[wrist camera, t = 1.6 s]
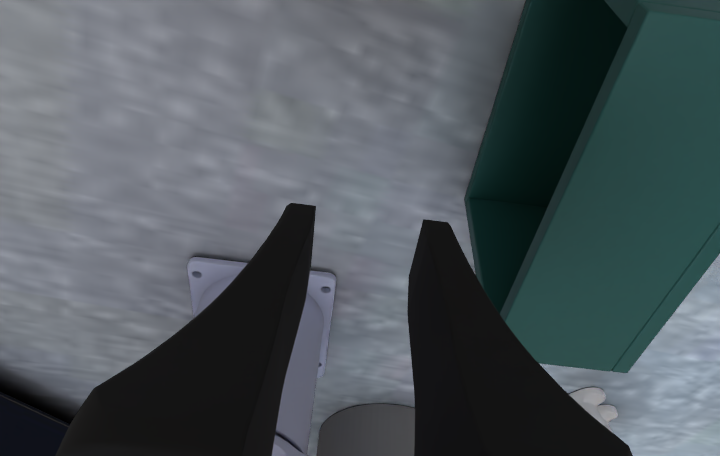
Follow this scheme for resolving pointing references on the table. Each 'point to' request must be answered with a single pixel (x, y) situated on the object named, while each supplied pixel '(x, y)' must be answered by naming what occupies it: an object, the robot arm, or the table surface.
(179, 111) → the table surface
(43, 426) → the speaker
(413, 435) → the coffee mug
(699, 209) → the teal open crate
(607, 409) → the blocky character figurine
